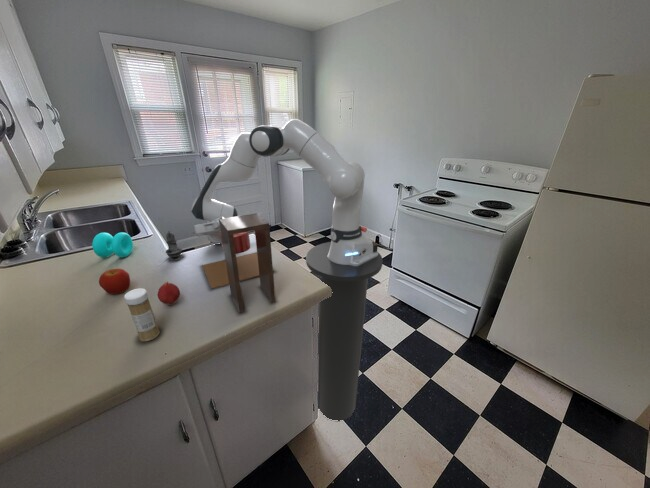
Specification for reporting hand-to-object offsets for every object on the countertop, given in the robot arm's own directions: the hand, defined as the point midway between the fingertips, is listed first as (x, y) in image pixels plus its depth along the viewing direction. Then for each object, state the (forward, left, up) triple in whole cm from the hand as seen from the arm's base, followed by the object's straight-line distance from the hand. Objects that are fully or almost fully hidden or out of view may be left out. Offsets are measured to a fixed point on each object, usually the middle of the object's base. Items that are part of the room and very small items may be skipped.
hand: (225, 222), depth 98 cm
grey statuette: (+18, -16, -17) cm, 30 cm away
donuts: (+38, -30, -17) cm, 51 cm away
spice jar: (+28, +28, -17) cm, 44 cm away
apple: (+36, 0, -17) cm, 40 cm away
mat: (-1, +5, -17) cm, 18 cm away
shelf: (0, +26, -17) cm, 31 cm away
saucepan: (0, +6, -5) cm, 8 cm away
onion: (+22, +16, -17) cm, 33 cm away
